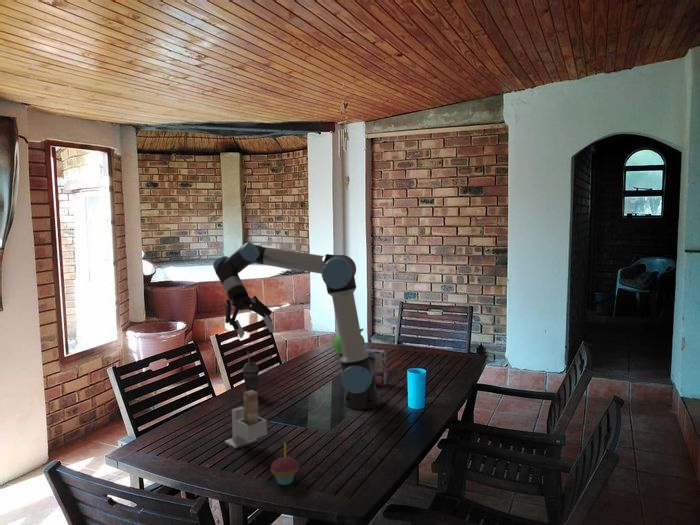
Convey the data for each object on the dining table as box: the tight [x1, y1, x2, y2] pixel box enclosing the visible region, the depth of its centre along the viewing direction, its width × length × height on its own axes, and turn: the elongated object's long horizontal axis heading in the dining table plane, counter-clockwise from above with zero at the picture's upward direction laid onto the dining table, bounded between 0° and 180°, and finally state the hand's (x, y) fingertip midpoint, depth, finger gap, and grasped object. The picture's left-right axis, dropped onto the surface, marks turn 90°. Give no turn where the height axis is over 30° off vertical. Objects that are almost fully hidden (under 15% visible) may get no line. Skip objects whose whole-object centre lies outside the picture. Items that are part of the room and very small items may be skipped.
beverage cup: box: [241, 351, 260, 392], centre depth 235 cm, size 7×7×20 cm
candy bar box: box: [364, 347, 387, 387], centre depth 252 cm, size 11×5×16 cm, turn 68°
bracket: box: [224, 406, 268, 450], centre depth 185 cm, size 14×9×12 cm, turn 44°
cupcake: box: [270, 442, 300, 486], centre depth 160 cm, size 9×8×12 cm
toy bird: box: [332, 328, 366, 355], centre depth 305 cm, size 18×17×15 cm
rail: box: [243, 390, 259, 425], centre depth 182 cm, size 4×4×14 cm
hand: (257, 333), depth 202 cm, fingers open, 13 cm apart
